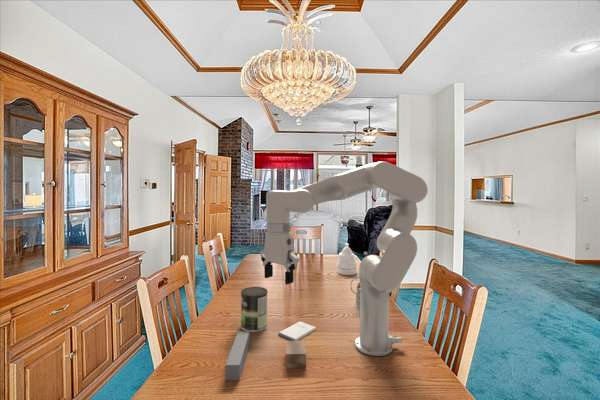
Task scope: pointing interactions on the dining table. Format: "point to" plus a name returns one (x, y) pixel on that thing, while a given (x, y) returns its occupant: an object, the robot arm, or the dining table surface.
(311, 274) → the dining table surface
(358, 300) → the french press
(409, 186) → the robot arm
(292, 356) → the walnut block
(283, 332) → the external hard drive
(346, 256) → the honey pot
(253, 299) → the coffee can
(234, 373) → the board
